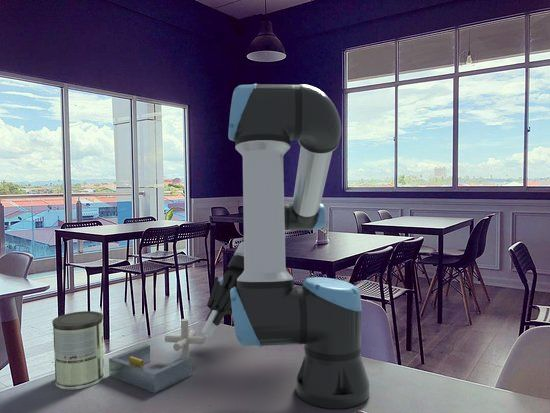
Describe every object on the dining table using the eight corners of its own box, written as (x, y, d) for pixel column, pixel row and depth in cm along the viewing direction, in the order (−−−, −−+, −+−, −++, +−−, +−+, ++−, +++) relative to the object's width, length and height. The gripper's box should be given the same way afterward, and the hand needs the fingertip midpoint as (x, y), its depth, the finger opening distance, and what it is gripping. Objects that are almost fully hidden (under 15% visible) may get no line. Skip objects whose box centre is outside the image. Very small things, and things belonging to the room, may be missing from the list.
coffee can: (48, 379, 101) (46, 317, 100) (94, 366, 108) (92, 308, 107) (63, 395, 94) (61, 328, 93) (112, 380, 101) (110, 317, 100)
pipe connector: (197, 369, 106) (196, 327, 105) (157, 366, 108) (156, 325, 107) (211, 353, 116) (210, 314, 115) (175, 350, 118) (174, 313, 117)
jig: (191, 374, 103) (191, 352, 103) (155, 393, 94) (154, 368, 94) (147, 360, 112) (146, 339, 111) (109, 375, 103) (108, 353, 102)
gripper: (268, 271, 129) (231, 346, 117) (233, 266, 137) (195, 336, 124) (257, 255, 125) (217, 332, 112) (221, 251, 132) (180, 323, 119)
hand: (205, 334), depth 118 cm, fingers closed
